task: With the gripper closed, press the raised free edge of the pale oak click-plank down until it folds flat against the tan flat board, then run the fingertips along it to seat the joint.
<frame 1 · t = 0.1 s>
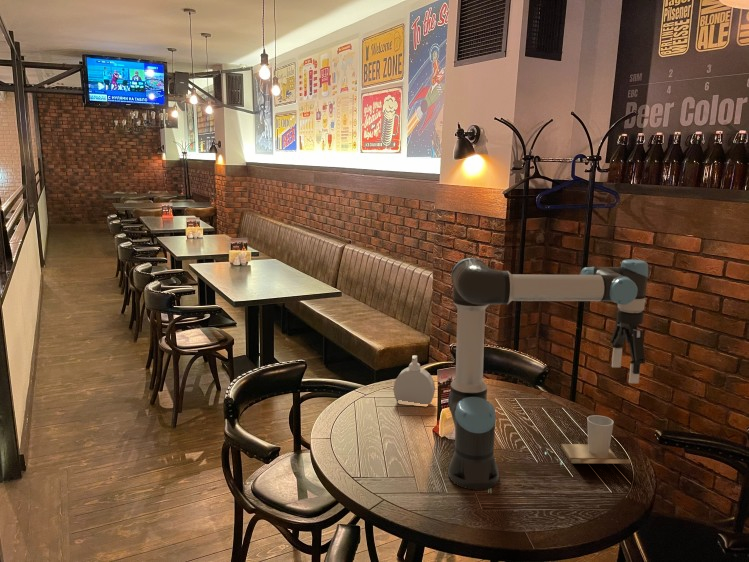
hand: (624, 374, 177), 28 cm above the table, fingers open, 13 cm apart
plank: (600, 461, 174), point 3 cm above the table, hinge at 30.0°
tan flat board: (588, 454, 183), on the table
soap bottle: (414, 404, 222), on the table
cup: (598, 455, 183), resting on tan flat board
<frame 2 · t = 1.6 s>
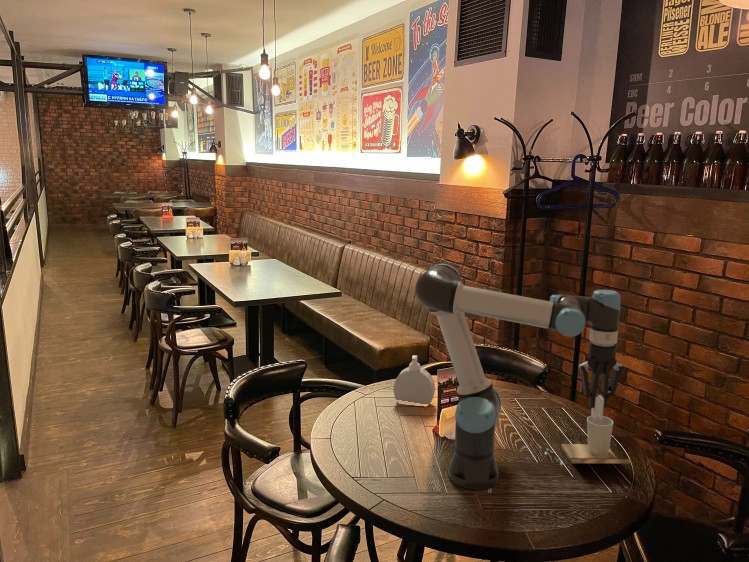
hand: (596, 417, 169), 18 cm above the table, fingers closed
nothing on the table moved.
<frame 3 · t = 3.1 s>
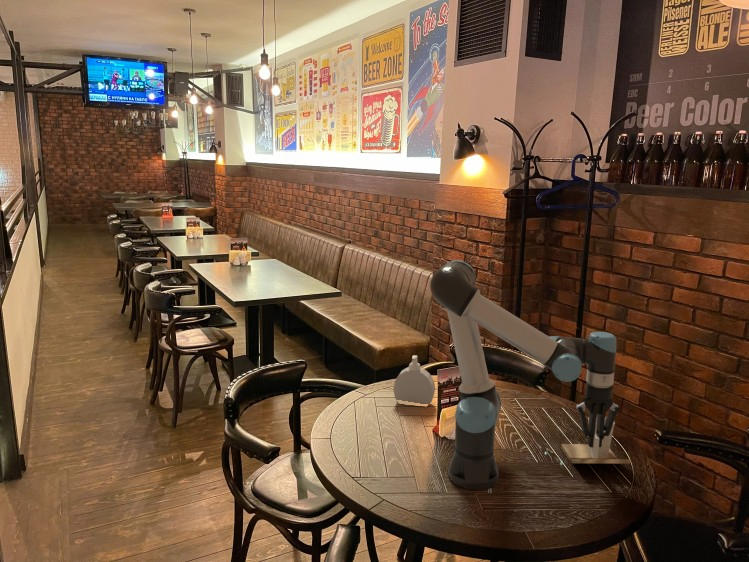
hand: (593, 456, 171), 6 cm above the table, fingers closed
plank: (600, 461, 174), point 3 cm above the table, hinge at 30.0°, touching gripper
everything else where it was.
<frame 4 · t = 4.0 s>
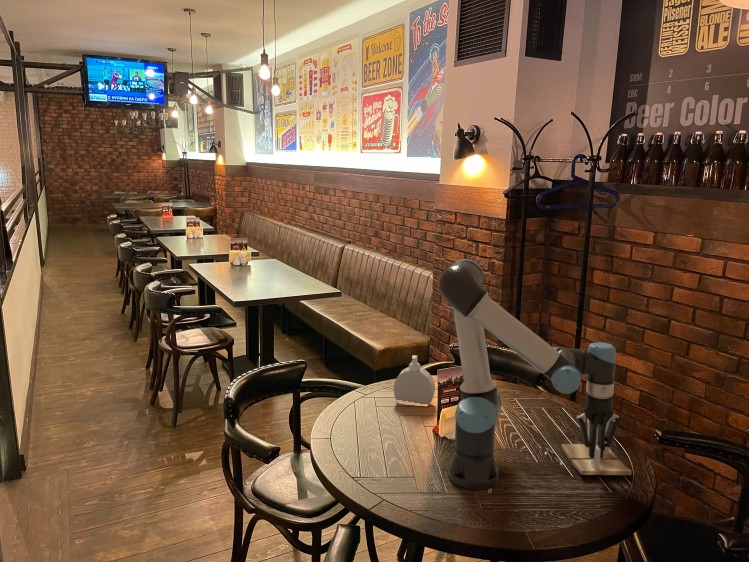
hand: (595, 467, 171), 2 cm above the table, fingers closed
plank: (600, 467, 173), point 1 cm above the table, hinge at 8.3°, touching gripper
everything else where it was.
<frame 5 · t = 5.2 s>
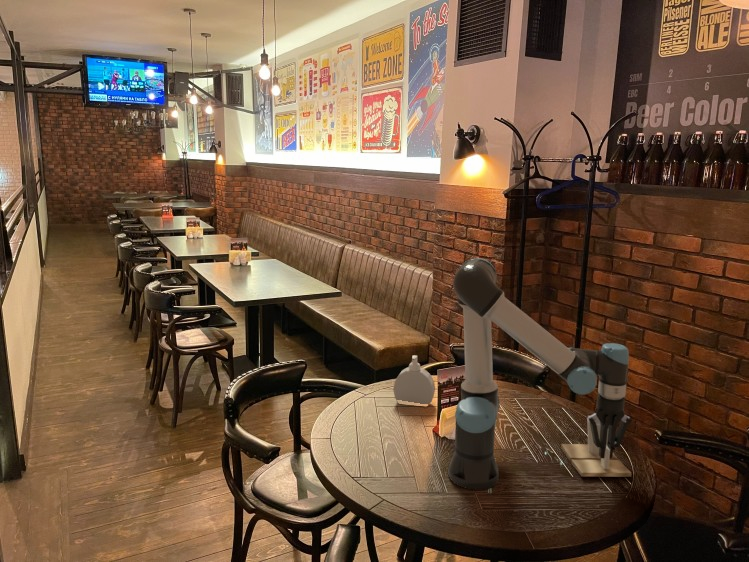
hand: (604, 467, 172), 2 cm above the table, fingers closed
plank: (600, 467, 173), point 1 cm above the table, hinge at 5.0°, touching gripper
everything else where it was.
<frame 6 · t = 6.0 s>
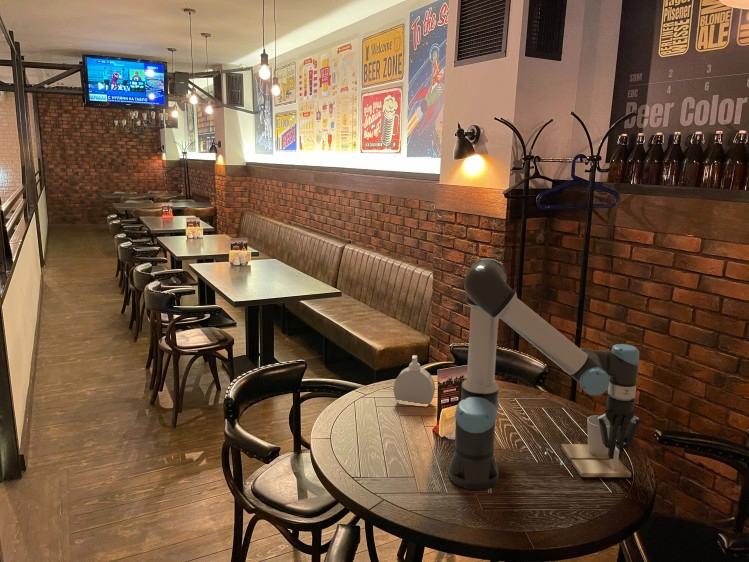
hand: (613, 467, 172), 2 cm above the table, fingers closed
plank: (600, 468, 173), point 1 cm above the table, hinge at 4.0°, touching gripper
everything else where it was.
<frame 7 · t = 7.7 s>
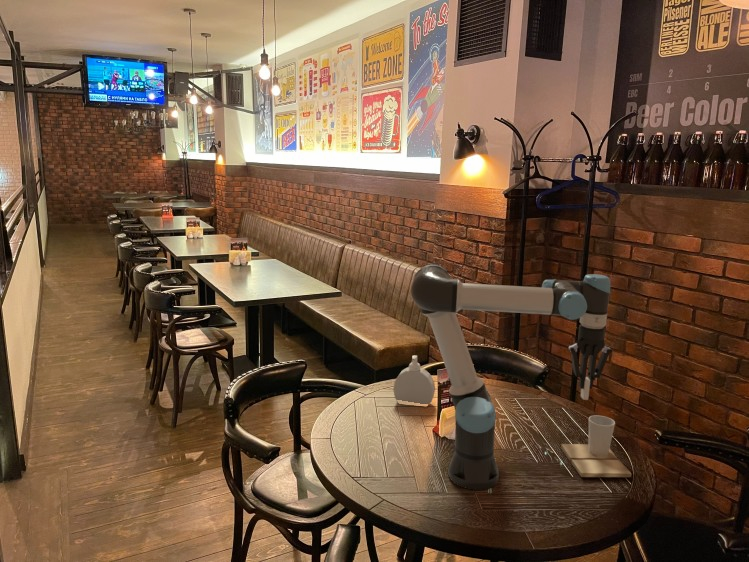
hand: (584, 397, 174), 22 cm above the table, fingers closed
plank: (600, 468, 173), point 1 cm above the table, hinge at 4.0°
everything else where it was.
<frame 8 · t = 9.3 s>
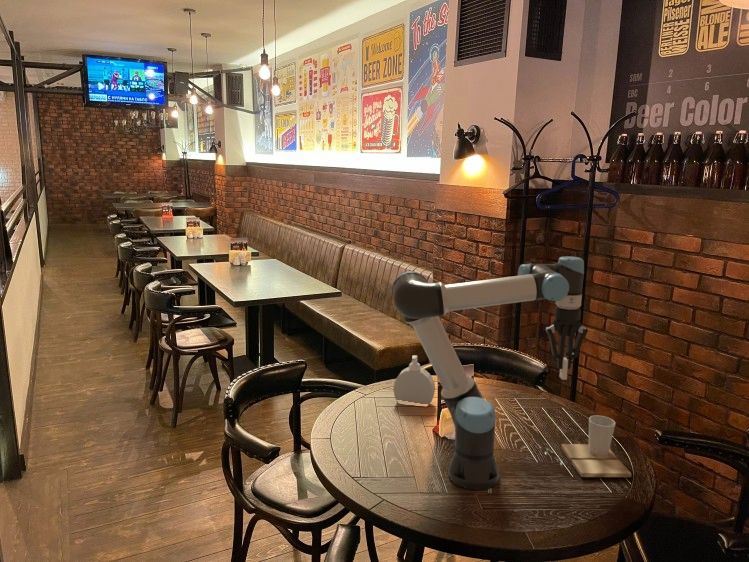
hand: (563, 378, 178), 26 cm above the table, fingers closed
nothing on the table moved.
at the end: plank at +4° (first picture: +30°); the gripper is holding nothing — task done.
